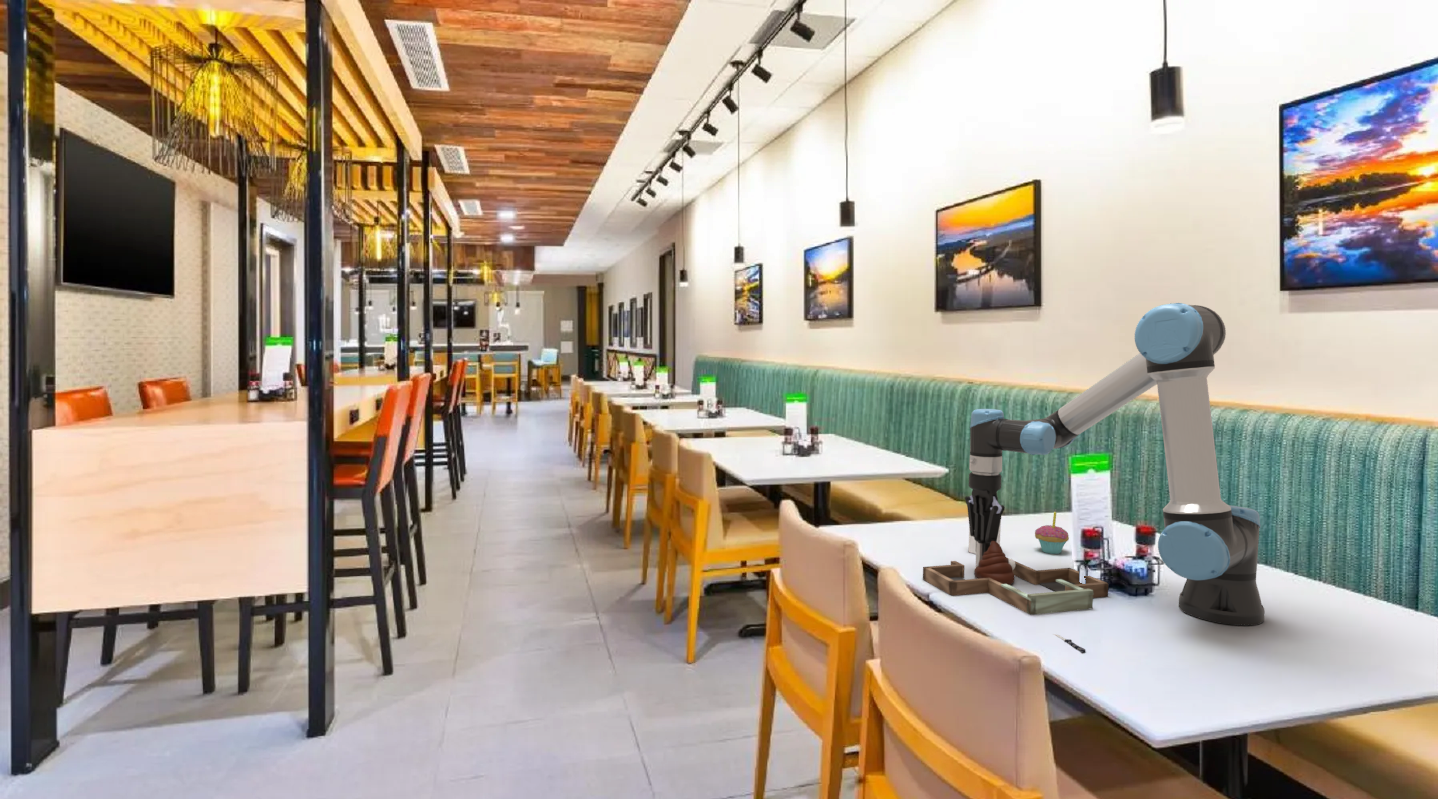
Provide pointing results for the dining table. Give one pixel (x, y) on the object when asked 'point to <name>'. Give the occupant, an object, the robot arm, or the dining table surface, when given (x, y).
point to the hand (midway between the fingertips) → (982, 567)
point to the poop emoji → (995, 565)
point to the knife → (1071, 643)
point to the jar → (973, 543)
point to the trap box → (1059, 580)
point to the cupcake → (1051, 537)
